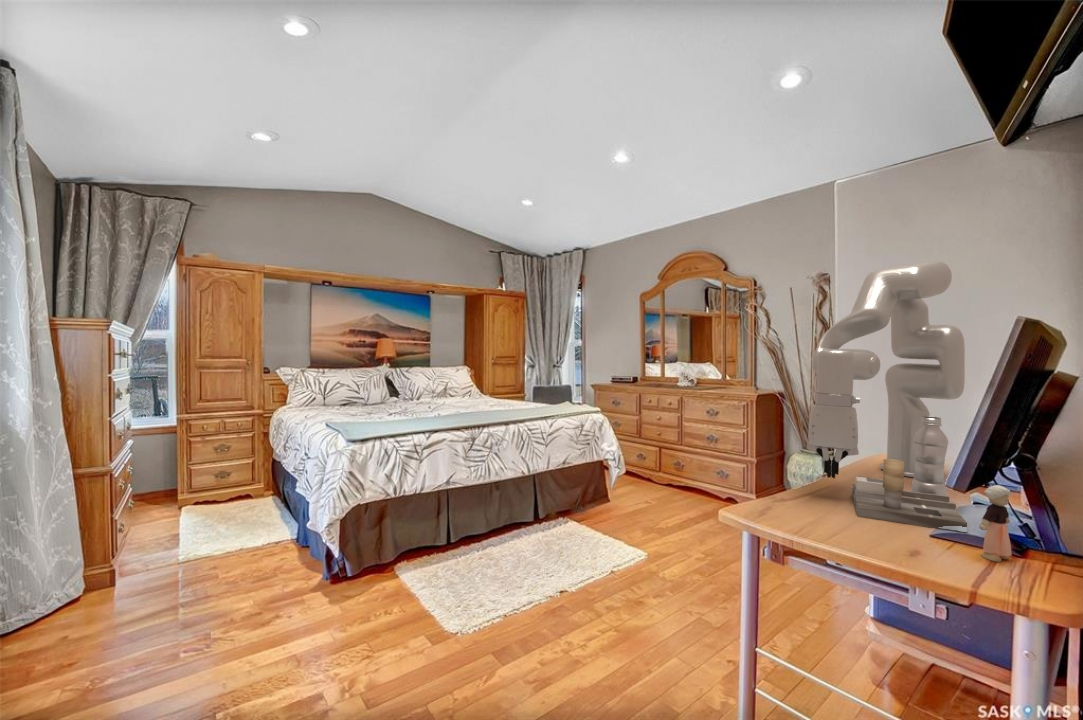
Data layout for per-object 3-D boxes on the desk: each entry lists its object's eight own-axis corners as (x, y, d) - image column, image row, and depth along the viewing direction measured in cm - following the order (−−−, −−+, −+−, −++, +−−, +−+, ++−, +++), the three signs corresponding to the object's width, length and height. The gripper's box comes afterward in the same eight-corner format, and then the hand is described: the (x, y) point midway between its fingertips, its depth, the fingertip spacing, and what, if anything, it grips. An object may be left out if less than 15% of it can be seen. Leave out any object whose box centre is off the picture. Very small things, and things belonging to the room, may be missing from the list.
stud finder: (855, 488, 114) (855, 475, 114) (886, 492, 111) (886, 479, 111) (857, 493, 110) (857, 480, 110) (888, 497, 107) (889, 483, 107)
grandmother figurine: (1004, 566, 79) (1007, 492, 79) (974, 557, 83) (977, 486, 82) (1017, 555, 84) (1020, 484, 83) (988, 547, 87) (991, 479, 86)
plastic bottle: (932, 496, 116) (935, 415, 115) (953, 506, 109) (956, 420, 108) (904, 495, 116) (906, 414, 115) (923, 505, 110) (926, 419, 109)
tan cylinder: (881, 502, 105) (882, 458, 105) (901, 505, 103) (902, 460, 103) (883, 507, 102) (884, 461, 102) (904, 510, 100) (905, 464, 100)
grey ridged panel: (851, 495, 116) (852, 482, 116) (946, 508, 107) (946, 494, 107) (857, 516, 102) (858, 501, 102) (966, 532, 94) (967, 517, 93)
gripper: (869, 401, 113) (866, 477, 114) (798, 397, 121) (796, 468, 121) (873, 404, 107) (870, 485, 107) (798, 400, 114) (795, 475, 115)
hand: (831, 476), depth 114 cm, fingers closed
